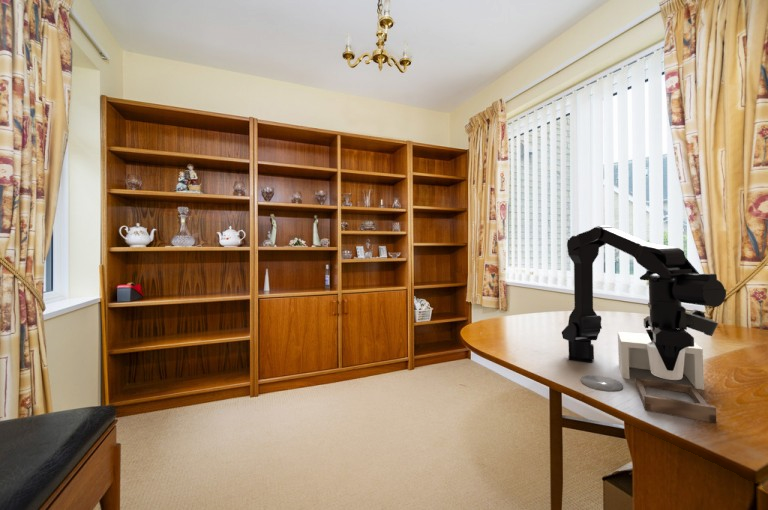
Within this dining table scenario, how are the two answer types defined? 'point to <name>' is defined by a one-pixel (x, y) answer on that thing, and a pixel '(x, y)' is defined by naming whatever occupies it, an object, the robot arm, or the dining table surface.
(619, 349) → the cubby
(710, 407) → the tray
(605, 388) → the coaster
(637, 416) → the dining table surface
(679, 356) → the white tapered cup
